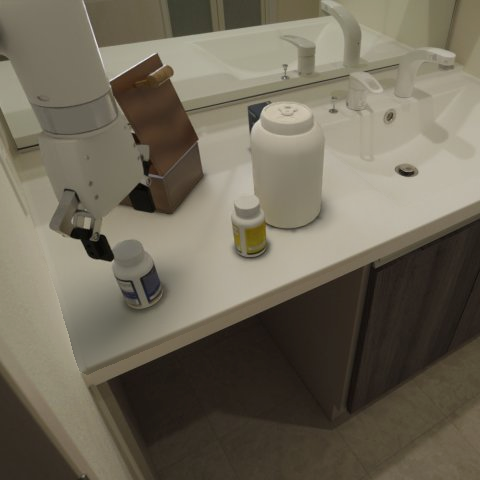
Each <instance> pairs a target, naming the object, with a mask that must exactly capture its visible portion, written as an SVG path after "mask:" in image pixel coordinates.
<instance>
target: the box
mask: <svg viewBox="0 0 480 480" xmlns="http://www.w3.org/2000/svg"><path fill="white" fill-rule="evenodd" d="M272 103H273V102H271V100H268V101H263V102H259V103H255V104H254V103H253V104H251V105H247V119H248V130H249V131H248V132H249V136H250V135H251V130H252V127H253V126H254V124H255V123H256V122H257V121H258V120H259V119H260V115H261V112H262V110H263V108H264V107H266V106H267V105H269V104H272Z"/></svg>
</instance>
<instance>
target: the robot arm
mask: <svg viewBox="0 0 480 480" xmlns="http://www.w3.org/2000/svg"><path fill="white" fill-rule="evenodd" d="M92 26H93V25H92V23H91V20H90V16H89V14H88V11H87V7H86V4H85V2H84V0H0V56H4V57H6V58H7V60H9V63H10V64H11V66H12V68H13V70H14V73H15V75H16V77H17V79H18V81H19V83H20V86H21V88H22V90H23V92H24V94H25V96H26V99H27V100H28V102H29V103H28V104H29V105H30V107H31V109H32V111H33V113H34V115H35V117H36V120H37V122H38V125H39V126H40V128H41V132H40V133H38V135H37V139H38V146H39V151H40V155H41V159H42V163H43V167H44V170H45V172H46V176H47V178H48V181H49V183H50V185H51V188H52V191H53V193H54V195H55V197H56V200H57V202H58V205H57V207H56V209H55V211H54V213H53V215H52V217H51V219H50V222H49V223H48V227H49V229H50V230H51V231H53V232H55V233H57V234H58V235H61V236H62V237H64V238H68V239H74V240H79V241H80V242H81V244H82V246H83V248H84V251H85V252H86V254H87V256H88V257H89V258H91V259H92V260H99V261H104V262H108V263H109V262H110V263H113V262H114V254H113V252H112V248H111V245H110V242H109V241H108V238H107V236H106V235H105V234H103V233H101V231H102V223H103V218H104V217H106V216H108V214H110V213H111V212H112V211H113V210H114V209H115V208H116V207H117V206H118V205H120V204H119V203H120V202H121V201H122V200H123V199H124V198H125V197H126V196H127V195H129V198H130V201H131V203H132V206H131V207H132V209H133V210H134V211H138V212H143V213H149V214H154V213H155V212H157V211H156V207H155V204H154V201H153V197H152V194H151V191H150V188H148V186H150V184H151V179H150V178H149V177H148V175H149V170H150V162H149V161H148V160H149V146H148V145H145V144H139V143H138V144H136V143H135V141H134V138H133V136H132V133H131V131H132V130H130V129H131V128H130V127H129V125H128V123H127V121H126V119H125V116H124V114H123V112H122V110H121V109H120V107H119V106H118V105H117V101H116V99H115V97H114V95H113V92H112V89H111V88H112V87H111V84H110V83H109V81H110V80H109V77H108V73H107V70H106V67H105V64H104V62H103V58H102V55H101V51H100V48H99V45H98V42H97V39H96V36H95V32H94V29H93V27H92ZM86 218H90V222H89V228H87V227H85V220H86Z"/></svg>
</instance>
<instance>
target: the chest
mask: <svg viewBox="0 0 480 480" xmlns="http://www.w3.org/2000/svg"><path fill="white" fill-rule="evenodd" d="M130 131H131V133H132V136H133V138H134V141H135V143H136V144H138V143H139V144H141V143H140V141H139V139H138V137H137V136H136V134H135V132H134V130H130ZM200 152H201V151H200V146H199V141H197V142H196V143H195V144H194V145H193V146H192V147H191V148H190V149H189V150H188V151H187V153H186V154H185V155H184V156H183V157H182V158H181V159H180V160H179V161H178V162H177V163H176V164H175V165H174V166H173V167H172V168H171V169H170V170H169V171H168V172H167V174H166V175H165V176H163V177H160V176H159V174H158V172H157V170H156V169H155V167H154V165H153V163H152V162H151V160H150V158H149V160H148V161H149V162H150V170H149V175H148V177H149V178H150V179H151V184H150V186H148V188H150V191H151V194H152V197H153V201H154V204H155V207H156V211H155V212H159V213H164V214H169V215H172V214H173V213H174V212H175V210H177V208H178V206H179V205H180V204H181V203H182V202H183V201H184V199H186V197H187V196H188V195H189V194H190V192H192V190H193V188H194V187H195V186H196V185H197V184H198V183H199V181H201V179H202V178H203V177H204V171H203V170H204V169H203V165H202V158H201V153H200ZM118 205H123V206H128V207H133V206H132V203H131V201H130V198H129V195H127V196H126V197H125V198H124V199H123V200H122V201H121V202H120V203H119V204H118Z"/></svg>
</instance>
